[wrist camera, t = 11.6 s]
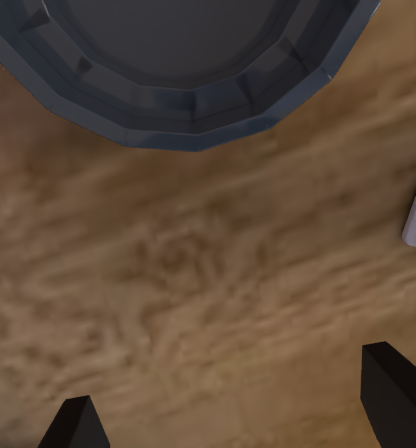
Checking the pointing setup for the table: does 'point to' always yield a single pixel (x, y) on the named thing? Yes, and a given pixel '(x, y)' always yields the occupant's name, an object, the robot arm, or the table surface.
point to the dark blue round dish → (177, 63)
